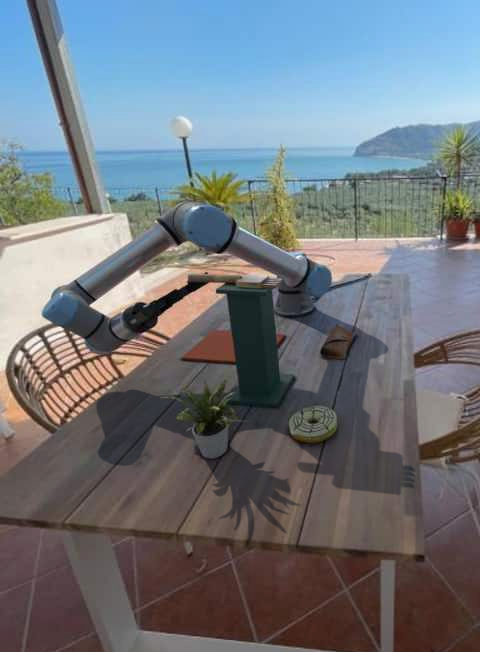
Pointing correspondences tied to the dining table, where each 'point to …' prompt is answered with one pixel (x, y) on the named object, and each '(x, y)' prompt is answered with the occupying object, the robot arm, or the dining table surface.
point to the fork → (237, 280)
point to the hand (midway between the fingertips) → (195, 284)
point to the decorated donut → (313, 424)
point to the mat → (217, 348)
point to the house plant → (209, 420)
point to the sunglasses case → (338, 343)
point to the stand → (255, 347)
